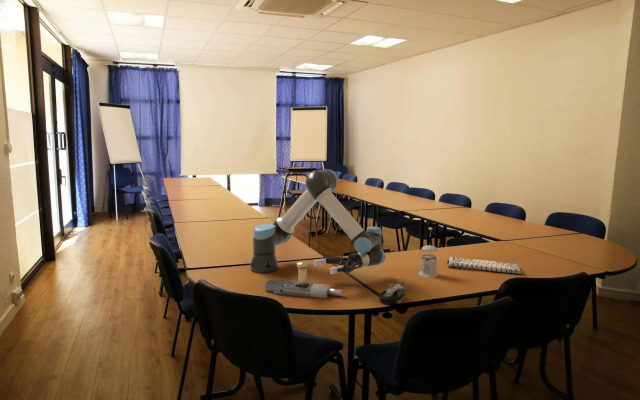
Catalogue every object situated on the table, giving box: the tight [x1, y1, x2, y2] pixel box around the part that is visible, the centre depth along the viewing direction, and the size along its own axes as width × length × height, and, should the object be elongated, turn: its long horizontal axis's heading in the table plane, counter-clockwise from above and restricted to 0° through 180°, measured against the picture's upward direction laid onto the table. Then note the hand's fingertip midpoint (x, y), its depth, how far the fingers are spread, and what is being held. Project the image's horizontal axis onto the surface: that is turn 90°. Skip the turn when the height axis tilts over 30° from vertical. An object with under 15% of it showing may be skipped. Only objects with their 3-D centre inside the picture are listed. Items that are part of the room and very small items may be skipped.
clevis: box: [264, 279, 343, 299], centre depth 187 cm, size 35×9×4 cm, turn 76°
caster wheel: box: [378, 281, 407, 305], centre depth 178 cm, size 7×11×10 cm
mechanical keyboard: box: [447, 255, 522, 276], centre depth 228 cm, size 38×19×3 cm, turn 72°
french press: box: [418, 227, 439, 278], centre depth 214 cm, size 10×12×25 cm
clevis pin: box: [296, 260, 310, 288], centre depth 186 cm, size 6×6×14 cm
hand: (322, 267), depth 192 cm, fingers open, 13 cm apart
